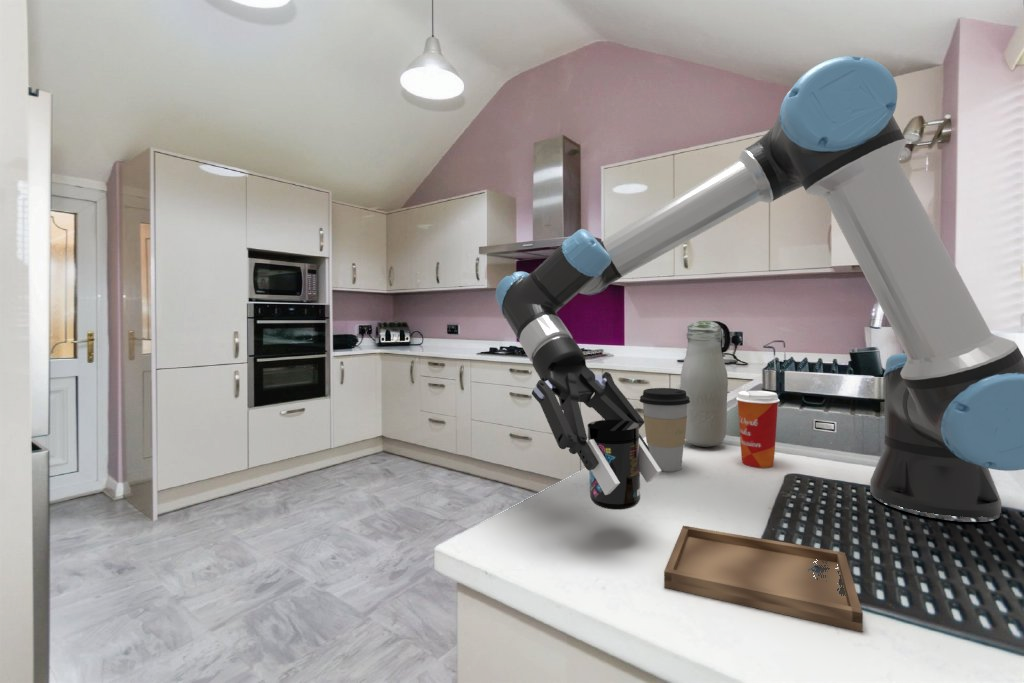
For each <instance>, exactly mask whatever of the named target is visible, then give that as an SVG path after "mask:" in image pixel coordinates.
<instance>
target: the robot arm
mask: <svg viewBox="0 0 1024 683" xmlns="http://www.w3.org/2000/svg"><path fill="white" fill-rule="evenodd" d="M897 102H898V86H897V83H896V80H895V78H894V76H893V74H892V73H891V71H890V70H889V69H887V67H886V66H885V65H883V64H881V63H880V62H878V61H876V60H873V59H871V58H869V57H859V56H852V55H848V56H840V57H839V56H838V57H835V58H834V57H833V58H831V59H828V60H825V61H823V62H820V63H819V64H817V65H815V66H813V67H812V68H810V69H809V70H807V71H806V72H805V73H803V75H801V76H800V78H799V79H798V80H797V81H796V82H795V83H794V85H793V86H792V88H790V89H789V91H788V92H787V93H786V95H785V96H784V98H783V101H782V103H781V105H780V109H779V115H778V116H777V118H776V121H775V122H774V124H773V126H772V127H771V128H770V129H769V130H768V131H767V132H766V133H765V134H764V135H763V136H762V137H761V138H759V139H758V140H757V141H755V142H753V144H751V145H750V146H748V147H745V148H744V149H743V150H741V152H740V154H739V157H738V159H737V160H736V161H735V162H733V163H731V164H729V165H728V166H726V167H725V168H723V169H721V170H719V171H717V172H716V173H714V174H712V175H711V176H709V177H707V178H706V179H704V180H702V181H700V182H699V183H697V184H696V185H694V186H693V187H691V188H689V189H687V190H686V191H683V192H682V193H681V194H679V195H677V196H675V197H674V198H672V199H671V200H668V201H667V202H666V203H663V204H662V205H660V206H659V207H657V208H656V209H653V210H652V211H650V212H649V213H646V214H645V215H643V216H642V217H640V218H638V219H637V220H634V221H633V222H632V223H630V224H628V225H626V226H625V227H623V228H621V229H620V230H618V231H616V232H614V233H613V234H612V235H609V236H608V237H606V238H604V239H603V240H601V241H600V242H599V241H598V240H597V239H596V238H595V236H594V235H592V234H591V233H590V232H589V231H588V230H587V229H584V228H580V229H578V230H577V231H575V232H574V233H573V234H572V235H570V237H568V238H566V239H565V240H563V242H562V243H561V244H560V246H558V248H556V250H554V251H553V252H552V253H551V254H550V255H549V256H548V257H547V258H546V259H544V260H543V262H542V263H540V264H539V266H538V267H536V268H535V269H534V270H533V271H532V272H530V273H528V272H526V271H522V270H521V271H515V272H513V273H512V274H511V275H506V276H504V278H502V279H501V280H500V282H499V283H498V284H497V286H496V289H495V300H496V303H497V305H498V307H499V308H500V310H501V314H502V315H503V317H504V319H506V322H507V323H508V325H509V326H510V328H511V330H512V332H513V333H514V336H515V337H516V338H517V340H518V341H519V344H520V345H521V347H522V349H523V350H524V351H523V352H525V354H526V356H527V358H528V359H529V361H530V362H531V363H532V366H533V368H534V370H535V372H536V373H537V376H538V377H539V378H540V379H539V380H538V381H537V383H536V384H535V386H534V387H533V389H532V391H531V395H532V396H533V398H534V399H535V400H536V401H537V402H538V403H539V405H540V407H541V409H542V412H543V413H544V416H545V419H546V421H547V423H548V425H549V428H550V430H551V432H552V435H553V437H554V439H555V442H556V444H557V446H558V448H559V449H561V450H565V449H567V448H569V449H568V451H569V453H570V454H572V455H576V454H577V455H578V457H579V459H580V460H581V463H582V464H583V466H584V467H585V469H586V470H587V471H588V472H589V470H591V471H592V473H593V475H594V476H595V478H596V480H597V482H598V483H599V485H600V487H601V489H602V490H603V492H604V494H605V495H608V494H610V493H611V492H612V491H613V490H614V489H615V488H616V487H617V486H618V485H619V484H620V482H619V480H618V479H617V477H616V475H615V474H614V472H613V470H612V469H611V467H610V465H609V464H608V462H607V460H606V459H605V457H604V455H603V454H602V452H601V450H600V449H599V447H598V445H597V444H596V442H595V441H594V439H591V440H589V441H588V440H587V439H588V434H587V433H586V428H585V423H584V420H583V416H582V411H581V408H580V403H583V404H585V406H586V407H588V408H590V409H591V408H592V409H594V411H595V412H596V413H597V414H598V415H600V417H601V418H603V420H626V421H631V422H635V423H637V424H638V425H639V429H641V428H642V426H644V425H645V424H644V418H643V417H642V416H641V415H640V414H639V412H638V411H637V410H636V409H635V407H634V406H633V405H632V404H631V402H630V401H629V400H628V399H627V397H626V396H625V394H623V392H622V391H621V390H620V389H619V387H618V385H617V384H616V383H615V382H614V378H613V376H612V375H611V373H610V372H608V371H605V372H604V373H603V374H602V375H601V374H600V375H599V374H595V373H594V371H592V370H591V369H590V368H588V366H587V363H586V356H585V354H584V352H583V351H582V349H581V347H580V346H579V345H578V344H577V341H576V340H575V339H573V338H574V337H573V335H572V333H571V332H570V331H569V330H568V328H567V326H566V325H565V323H564V322H563V321H562V319H561V318H560V316H559V315H558V313H557V312H559V311H560V309H562V308H563V307H564V306H566V304H568V303H569V302H570V301H571V300H572V299H573V298H574V297H576V296H577V295H578V294H581V295H585V296H593V295H597V294H600V293H601V292H603V291H605V290H606V289H607V288H608V287H609V285H611V284H613V283H615V282H617V281H618V280H620V279H621V278H623V277H624V276H627V275H628V274H630V273H632V272H634V271H636V270H637V269H639V268H641V267H643V266H645V265H646V264H648V263H651V262H652V261H654V260H657V259H658V258H659V257H661V256H663V255H665V254H666V253H668V252H670V251H672V250H674V249H676V248H678V247H679V246H681V245H683V244H685V243H687V242H689V241H690V240H692V239H694V238H696V237H697V236H700V235H701V234H702V233H705V232H707V231H708V230H710V229H712V228H714V227H716V226H718V225H720V224H721V223H723V222H725V221H726V220H728V219H730V218H732V217H734V216H735V215H738V214H739V213H741V212H744V211H745V210H747V209H748V208H750V207H751V206H754V205H755V204H757V203H759V202H764V203H769V204H770V203H772V202H774V201H776V200H778V199H780V198H781V197H783V196H785V195H788V194H789V193H791V192H793V191H796V190H798V189H799V188H802V187H803V188H804V190H805V193H806V194H808V195H813V196H815V197H816V196H817V197H821V198H823V199H824V200H825V202H826V203H827V205H828V207H829V210H830V212H831V213H832V215H833V217H834V219H835V221H836V223H837V225H838V227H839V229H840V230H841V233H842V234H843V237H844V238H845V241H846V242H847V244H848V246H849V248H850V250H851V252H852V254H853V255H854V257H855V260H856V261H857V265H858V266H859V267H860V269H861V271H862V273H863V275H864V277H865V279H866V281H867V283H868V285H869V287H870V288H871V290H872V292H873V294H874V296H875V298H876V300H877V302H878V304H879V306H880V307H881V311H882V312H883V314H884V315H885V318H886V319H887V321H888V324H889V326H890V327H891V329H892V331H893V334H894V335H895V337H896V338H897V341H898V342H899V344H900V346H901V349H902V350H903V352H902V353H901V352H900V353H895V354H891V355H890V356H889V357H887V359H886V361H885V370H884V373H883V379H884V445H883V451H882V452H881V455H880V458H879V459H878V462H877V464H876V467H875V469H874V470H873V472H872V476H871V478H870V482H869V485H870V487H869V489H870V490H869V491H870V492H871V493H872V494H873V495H874V496H876V497H877V498H879V499H881V500H883V501H886V502H888V503H891V504H894V505H897V506H900V507H903V508H907V509H913V510H917V511H920V512H927V513H934V514H942V515H951V516H959V517H960V516H961V517H962V516H963V517H981V516H983V517H994V516H996V515H998V514H1000V513H1001V514H1002V501H1001V500H1002V499H1001V496H1000V494H999V492H998V489H997V487H996V484H995V482H994V479H993V476H992V474H991V472H990V470H997V471H1008V472H1009V471H1011V472H1013V471H1023V470H1024V355H1023V354H1022V351H1021V350H1020V348H1019V346H1018V345H1017V343H1016V342H1015V341H1014V340H1010V339H1008V338H1004V337H1001V336H998V335H995V333H992V332H991V330H990V328H989V326H988V325H987V323H986V320H985V319H984V317H983V315H982V313H981V311H980V309H979V308H978V306H977V304H976V301H975V300H974V298H973V297H972V295H971V293H970V291H969V289H968V287H967V285H966V283H965V282H964V280H963V278H962V276H961V275H960V272H959V270H958V268H957V267H956V265H955V262H954V261H953V259H952V258H951V256H950V253H949V251H948V250H947V247H946V246H945V244H944V242H943V241H942V239H941V236H940V235H939V233H938V232H937V229H936V228H935V226H934V224H933V222H932V220H931V218H930V216H929V214H928V213H927V210H926V209H925V207H924V205H923V204H922V201H921V199H920V197H918V194H917V192H916V191H915V189H914V187H913V185H912V183H911V181H910V179H909V177H908V176H907V174H906V172H905V170H904V168H903V167H902V165H901V163H900V157H901V155H902V153H903V151H904V149H905V146H906V145H907V140H906V137H905V136H904V134H903V131H902V129H901V128H900V126H899V124H898V121H896V119H895V117H894V114H895V111H896V108H897ZM558 399H559V400H558ZM639 465H640V474H641V476H642V477H643V479H644V481H645V482H646V483H650V482H652V481H653V480H654V479H655V478H657V476H658V475H659V474H660V473H661V472H662V471H661V469H660V468H659V466H658V465H657V463H656V462H655V460H654V459H653V457H652V456H651V454H650V453H649V447H648V443H647V442H645V440H644V438H643V437H642V435H641V433H639Z"/></svg>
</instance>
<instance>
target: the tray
mask: <svg viewBox="0 0 1024 683" xmlns="http://www.w3.org/2000/svg"><path fill="white" fill-rule="evenodd" d="M669 556H670V557H669V558H668V561H667V563H666V566H665V568H664V570H663V580H664V581H663V585H664V586H663V587H664V588H666V589H671V590H675V591H679V592H684V593H688V594H692V595H697V596H702V597H706V598H710V599H715V600H718V601H723V602H728V603H733V604H737V605H741V606H744V607H745V606H746V607H750V608H754V609H758V610H762V611H763V610H764V611H768V612H770V613H771V612H772V613H777V614H782V615H785V616H789V617H790V616H791V617H793V618H797V619H798V618H799V619H803V620H806V621H811V622H817V623H820V624H824V625H825V624H826V625H830V626H834V627H839V628H843V629H847V630H851V631H856V632H862V633H863V631H864V630H863V629H864V628H863V626H864V625H863V624H864V623H863V622H864V621H863V620H864V619H863V618H864V615H863V610H862V606H861V603H860V599H859V595H858V592H857V590H856V585H855V582H854V579H853V575H852V573H851V569H850V566H849V562H848V558H847V555H846V553H845V552H843V551H838V550H833V549H825V548H820V547H815V546H808V545H807V546H806V545H802V544H796V543H791V542H783V541H778V540H772V539H766V538H760V537H754V536H749V535H742V534H741V535H740V534H736V533H732V532H731V533H729V532H726V531H725V532H723V531H719V530H712V529H707V528H700V527H699V528H698V527H695V526H689V525H688V526H687V525H682V527H681V529H680V531H679V535H678V537H677V540H676V542H675V543H674V547H673V549H672V551H671V553H670V555H669ZM816 559H817V560H818V561H817V560H816ZM825 560H826V561H827V562H826V561H825ZM814 561H817V562H816V563H817V564H818V566H819V565H820V566H821V565H822V566H823V567H824V565H826V566H825V567H826V568H827V567H828V568H830V569H829V570H828V569H827V570H826V572H825V570H824V572H823V573H821V571H820V573H821V575H822V574H823V575H824V578H823V575H822V578H821V575H820V573H819V575H820V576H818V573H817V576H816V573H815V571H816V569H815V571H814V574H813V571H812V570H811V572H810V570H809V572H808V570H807V569H809V568H810V567H811V568H812V567H814V566H815V565H816V566H817V564H816V563H815V562H814ZM822 561H823V562H824V563H823V562H822ZM828 561H829V562H828ZM813 562H814V563H813ZM825 562H826V563H827V564H826V563H825ZM814 564H815V565H814ZM837 564H838V566H837ZM827 565H828V566H827ZM829 565H830V566H829ZM820 566H819V567H820ZM822 566H821V567H822ZM823 567H822V568H823ZM825 567H824V568H825ZM837 567H839V570H838V569H835V568H837ZM811 568H810V569H811ZM827 571H828V572H827ZM837 571H840V572H839V574H838V572H837ZM814 575H815V577H816V579H815V577H813V576H814ZM825 575H826V578H825ZM827 575H828V577H827ZM839 575H841V579H842V582H843V588H844V591H845V595H846V596H845V595H844V596H843V594H842V596H841V594H839V591H840V588H841V587H842V585H841V587H840V585H839V583H838V582H839V579H840V576H839ZM829 576H830V577H829ZM817 578H818V580H817ZM826 580H827V582H826ZM837 583H838V584H837ZM838 588H839V590H838V591H837V589H838Z"/></svg>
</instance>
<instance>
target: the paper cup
mask: <svg viewBox="0 0 1024 683" xmlns="http://www.w3.org/2000/svg"><path fill="white" fill-rule="evenodd" d="M735 400H736V401H737V409H738V410H737V411H738V424H739V425H738V426H739V440H740V441H739V442H740V454H741V455H740V456H741V462H742V464H743V465H744V466H748V467H752V468H758V469H766V468H767V469H768V468H772V467H773V466H774V463H775V452H776V438H777V437H776V436H777V420H778V419H777V418H778V408H779V402H780V399H779V396H778V394H777V392H774V391H767V390H741V391H739V392H738V393H737V396H736V398H735Z"/></svg>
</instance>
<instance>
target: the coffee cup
mask: <svg viewBox="0 0 1024 683" xmlns="http://www.w3.org/2000/svg"><path fill="white" fill-rule="evenodd" d="M689 399H690V398H689V397H688V396H686V391H684V390H681V388H680V389H679V388H671V387H669V388H668V387H654V388H651V387H650V388H646V389H644V390H643V392H642V395H640V396H639V402H640V403H642V406H643V420H644V424H643V425H644V432H645V439H646V440H645V441H646V444H647V446H648V447H649V453H650V454H651V456H652V457H653V459H654V460H655V462H656V463H657V465H658V466H659V468H660V469H661V472H667V473H669V472H670V473H673V472H678V471H680V470H681V469H682V465H683V455H684V445H685V443H686V442H685V441H686V439H685V434H686V423H687V415H686V414H687V404H688V403H690V400H689Z"/></svg>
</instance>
